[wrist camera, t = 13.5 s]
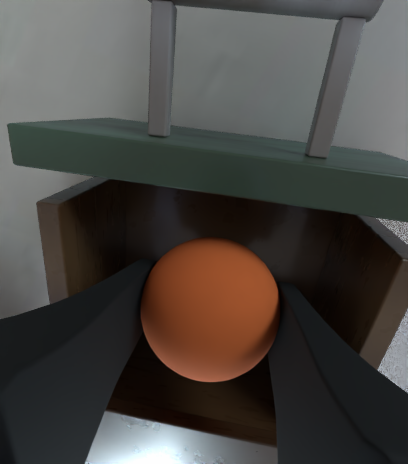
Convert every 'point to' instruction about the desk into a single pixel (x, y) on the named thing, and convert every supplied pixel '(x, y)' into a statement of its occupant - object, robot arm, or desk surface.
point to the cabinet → (176, 438)
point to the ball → (210, 309)
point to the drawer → (229, 210)
